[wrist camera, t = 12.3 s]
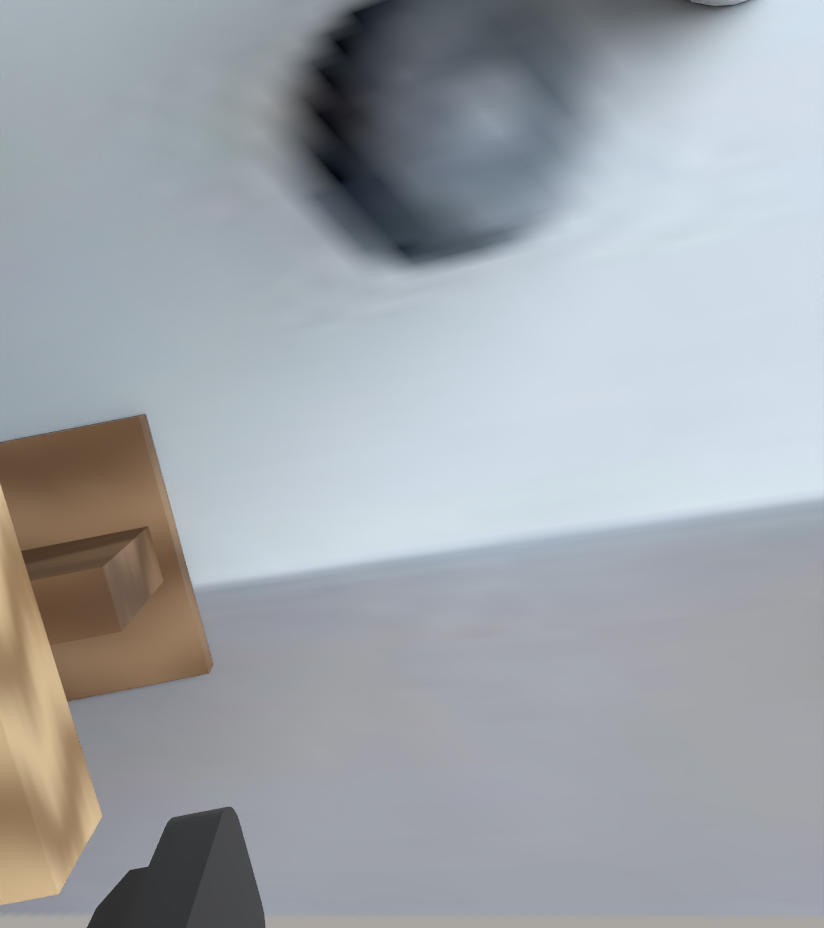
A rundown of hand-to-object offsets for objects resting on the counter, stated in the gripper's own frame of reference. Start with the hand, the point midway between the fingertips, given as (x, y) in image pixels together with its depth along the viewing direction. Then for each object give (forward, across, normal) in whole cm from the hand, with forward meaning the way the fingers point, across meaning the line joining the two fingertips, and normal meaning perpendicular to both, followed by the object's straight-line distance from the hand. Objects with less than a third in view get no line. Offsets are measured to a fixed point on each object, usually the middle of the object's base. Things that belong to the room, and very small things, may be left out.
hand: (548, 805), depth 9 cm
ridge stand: (+28, +20, +3) cm, 35 cm away
